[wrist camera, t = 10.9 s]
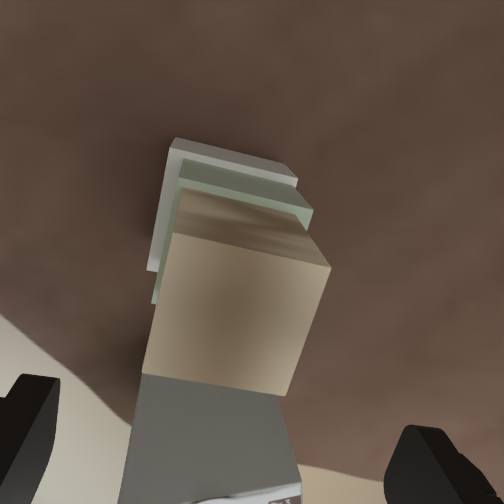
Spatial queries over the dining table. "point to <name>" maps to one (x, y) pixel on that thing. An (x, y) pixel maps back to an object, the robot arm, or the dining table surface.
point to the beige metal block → (235, 295)
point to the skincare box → (208, 447)
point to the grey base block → (213, 157)
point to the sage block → (232, 197)
